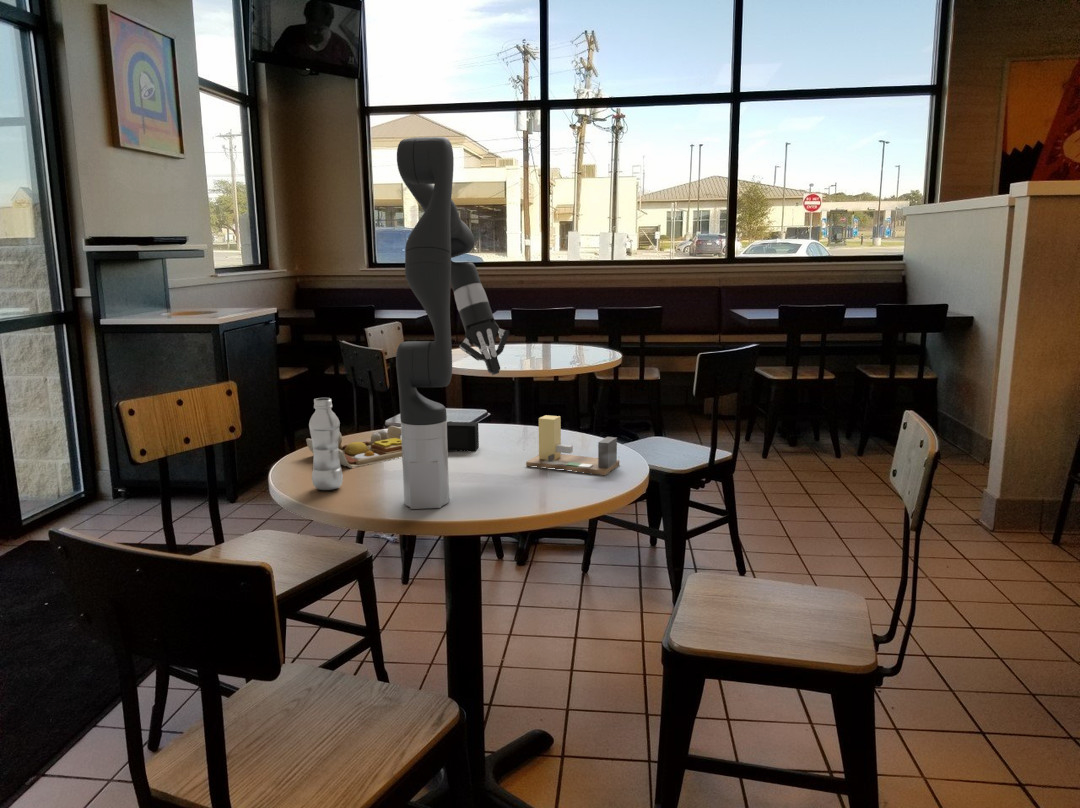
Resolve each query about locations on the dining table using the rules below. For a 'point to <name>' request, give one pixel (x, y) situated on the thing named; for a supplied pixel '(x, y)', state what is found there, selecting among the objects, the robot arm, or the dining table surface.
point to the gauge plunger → (551, 438)
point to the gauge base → (585, 460)
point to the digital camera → (462, 436)
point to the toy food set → (370, 448)
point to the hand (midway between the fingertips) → (495, 373)
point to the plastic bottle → (325, 446)
